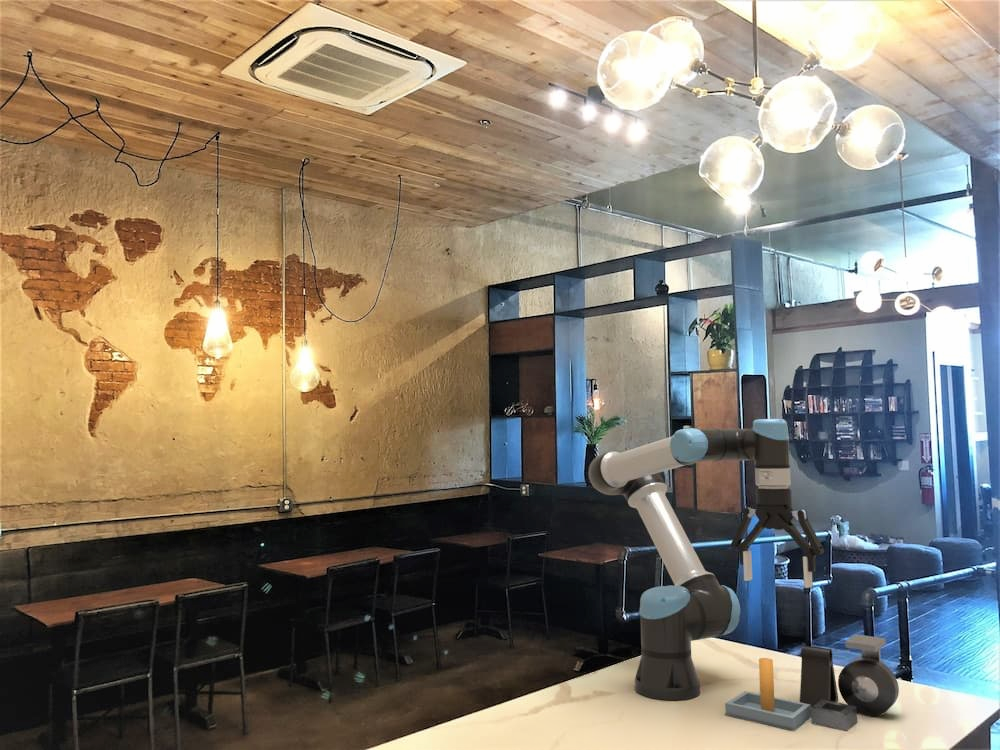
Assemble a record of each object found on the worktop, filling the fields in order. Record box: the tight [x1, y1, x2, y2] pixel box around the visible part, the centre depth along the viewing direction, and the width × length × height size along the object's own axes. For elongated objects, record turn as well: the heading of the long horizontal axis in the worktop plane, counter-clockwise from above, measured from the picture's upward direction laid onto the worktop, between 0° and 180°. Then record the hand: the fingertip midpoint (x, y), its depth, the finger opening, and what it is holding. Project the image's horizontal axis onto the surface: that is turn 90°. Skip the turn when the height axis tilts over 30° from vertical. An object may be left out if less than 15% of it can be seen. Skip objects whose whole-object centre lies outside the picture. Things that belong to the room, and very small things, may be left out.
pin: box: [758, 657, 775, 712], centre depth 161 cm, size 3×3×11 cm
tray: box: [724, 690, 812, 732], centre depth 161 cm, size 14×10×2 cm
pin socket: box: [810, 700, 858, 732], centre depth 157 cm, size 7×7×3 cm
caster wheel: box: [837, 634, 900, 717], centre depth 163 cm, size 11×8×15 cm
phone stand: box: [799, 644, 839, 708], centre depth 169 cm, size 9×6×12 cm, turn 142°
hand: (777, 583), depth 168 cm, fingers open, 13 cm apart
